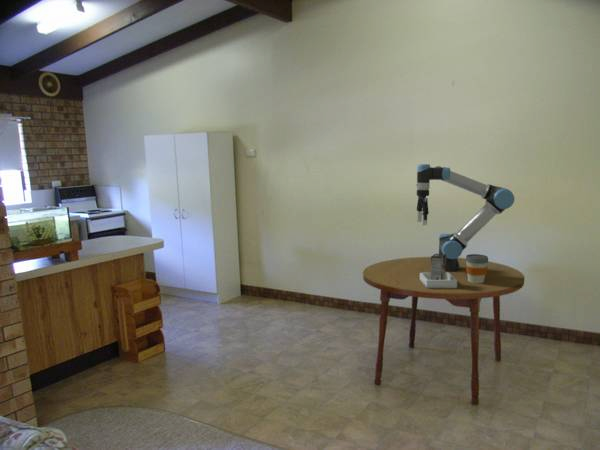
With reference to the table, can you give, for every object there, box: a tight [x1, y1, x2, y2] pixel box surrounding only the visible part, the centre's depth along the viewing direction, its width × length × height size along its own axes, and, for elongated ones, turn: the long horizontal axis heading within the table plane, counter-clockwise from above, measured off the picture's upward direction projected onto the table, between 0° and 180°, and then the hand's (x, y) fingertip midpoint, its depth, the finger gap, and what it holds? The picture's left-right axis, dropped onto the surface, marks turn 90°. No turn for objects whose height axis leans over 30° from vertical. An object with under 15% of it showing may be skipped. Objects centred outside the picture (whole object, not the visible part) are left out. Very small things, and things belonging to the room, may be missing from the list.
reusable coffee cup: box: [465, 253, 489, 284], centre depth 283 cm, size 12×13×15 cm
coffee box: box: [430, 253, 447, 280], centre depth 278 cm, size 9×6×16 cm
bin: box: [419, 271, 458, 289], centre depth 279 cm, size 17×17×4 cm
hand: (422, 223), depth 299 cm, fingers open, 13 cm apart
